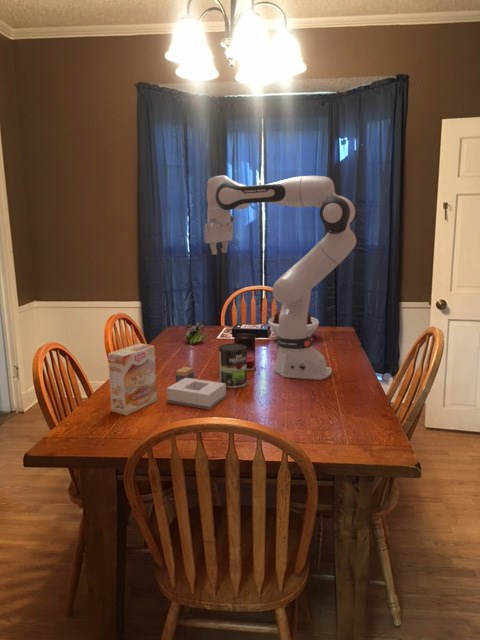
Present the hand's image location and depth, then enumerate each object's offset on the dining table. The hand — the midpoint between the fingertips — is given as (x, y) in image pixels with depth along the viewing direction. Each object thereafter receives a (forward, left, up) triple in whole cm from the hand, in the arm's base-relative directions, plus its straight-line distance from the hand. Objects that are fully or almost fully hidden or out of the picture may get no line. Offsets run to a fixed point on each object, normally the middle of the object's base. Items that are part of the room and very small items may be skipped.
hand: (219, 253), depth 204 cm
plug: (-2, +32, -46) cm, 56 cm away
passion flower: (+28, -27, -46) cm, 61 cm away
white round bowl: (-14, -51, -46) cm, 70 cm away
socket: (-12, +41, -46) cm, 63 cm away
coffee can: (-16, +21, -46) cm, 53 cm away
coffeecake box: (+4, +54, -46) cm, 71 cm away
